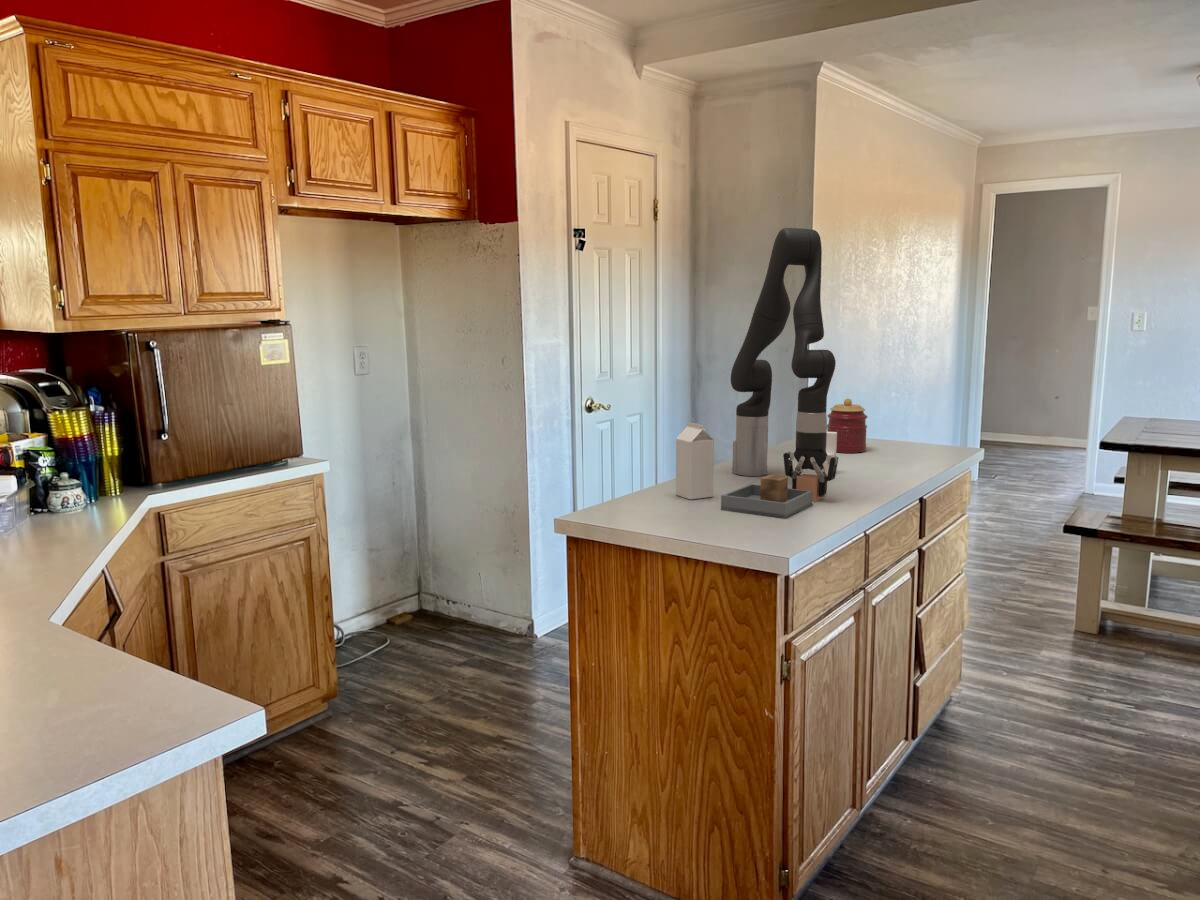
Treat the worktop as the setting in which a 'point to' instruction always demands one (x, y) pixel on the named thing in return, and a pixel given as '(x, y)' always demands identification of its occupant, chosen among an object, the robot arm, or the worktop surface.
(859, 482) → the worktop surface
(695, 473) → the milk carton
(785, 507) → the tray
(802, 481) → the terracotta block
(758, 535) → the worktop surface
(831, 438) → the cylinder with rectangular tab
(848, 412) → the canister
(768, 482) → the walnut block
